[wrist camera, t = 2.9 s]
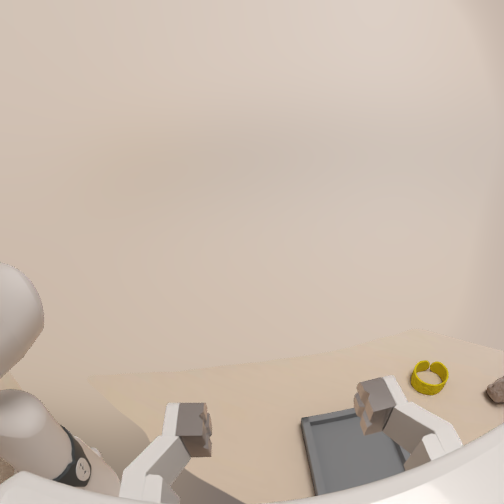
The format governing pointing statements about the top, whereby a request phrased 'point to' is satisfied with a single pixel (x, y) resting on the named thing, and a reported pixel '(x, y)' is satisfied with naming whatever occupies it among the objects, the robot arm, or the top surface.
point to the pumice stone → (496, 390)
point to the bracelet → (426, 387)
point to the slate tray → (348, 452)
